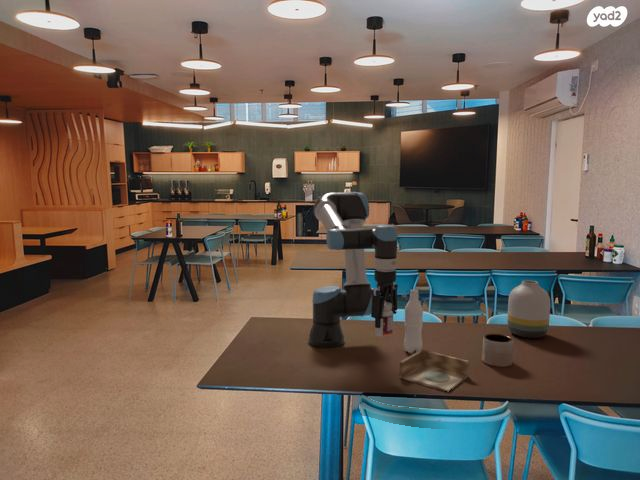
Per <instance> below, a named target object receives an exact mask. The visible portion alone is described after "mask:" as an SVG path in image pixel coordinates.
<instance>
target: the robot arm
mask: <svg viewBox="0 0 640 480" xmlns="http://www.w3.org/2000/svg"><path fill="white" fill-rule="evenodd" d="M313 215H314V216H315V218H316V219H317V221H319V222H321V224H322V225H323V227H324V229H325V230H326V239H325V240H326V246H327V248H328V249H329V250H331V251H332V250H334V251H342V250H343V251H344V260H345V263H344V264H345V276H346V279H345V280H346V281H345V282H344V284H343V286H342V287H343V289H342V288H341V287H340V286H338V285H326V286H320V287H318V288H316V289H315V290H314V291H313V293H312V301H311V302H312V325H311V329H310V332H309V335H308V343H309V344H310V345H312V346H314V347H318V348H337V347H340V346H342V345H343V344H344V343H345V335H344V333H343V329H342V325H341V318H349V317H350V318H351V317H352V318H353V317H364V316H365V317H366V316H370V317H371V318H373V319H374V337H375V336H376V337H379V338H384V337H383V319H382V313H383V308H384V302H390V303H392V309H391V310H392V312H393V315H396V314H397V313H398V312H397V311H398V287H399V284H398V283H394V282H396V280H397V271H396V269H397V263H398V261H397V253H398V252H397V251H398V228H397V226H396V225H391V224H378V225H376V226H372V227H367V228H365V227H364V228H363V226H364V224H365V223H366V219H368V218H369V217H370V202H369V199H368V197H367V195H366V194H364V193H363V192H356V191H350V192H349V191H348V192H345V191H344V192H337V191H336V192H334V191H333V192H332V191H331V192H327V193H324V194H322V195H321V196H319V197H318V198H317V199H316V200H315V202H314V205H313ZM372 249H373V250H374V269H375V270H374V281H375V282H376V283H377V285H376V288H373V287H371V283H370V282H369V281H368V280H367V270H366V269H367V268H366V267H367V266H366V255H365V250H372Z"/></svg>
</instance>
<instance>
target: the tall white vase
mask: <svg viewBox="0 0 640 480" xmlns="http://www.w3.org/2000/svg"><path fill="white" fill-rule="evenodd" d="M409 293H410V294H409V300H408V302H407V303H406V305H405V308H404V322H403V324H404V325H403V326H404V329H405V330H404V332H405V335H404V340H403V347H404V350H405V352H408V353H409V354H414V353H416V352H418V351H420V350H421V349H423V340H422V339H423V337H422V330H423V325H424V324H423V315H424V310H423V306H422V304H421V302H420V300H419V297H420V295H419V290H418V289H410V292H409Z"/></svg>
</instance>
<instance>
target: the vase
mask: <svg viewBox="0 0 640 480" xmlns="http://www.w3.org/2000/svg"><path fill="white" fill-rule="evenodd" d="M507 302H508V303H507V327H508V330H509V331H510V333H512V334H513V335H516V336H519V337H522V338H527V339H528V338H529V339H538V338H542V337H544V336H546V334H547V333H548V331H549V329H550V316H551V297H550V295H549V293H548V292H547V291H546V290H545V289H544V288H542V287H541V286H540V285H539V282H538V281H536V280H529V279H525V280H522V281H521V283H520V284H519V285H517V286H515V287H514V288H512V290H511V291H510V293H509V295H508V301H507Z"/></svg>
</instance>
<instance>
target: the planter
mask: <svg viewBox="0 0 640 480" xmlns="http://www.w3.org/2000/svg"><path fill="white" fill-rule="evenodd" d="M481 352H482V353H481V361H482V362H483V363H485V364H486V365H488V366H491V367H496V368H506V367H510V366H512V365H513V362H514V338H513V337H512V336H509V335H506V334H504V333H503V334H502V333H493V332H492V333H486V334H483V336H482V349H481Z"/></svg>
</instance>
